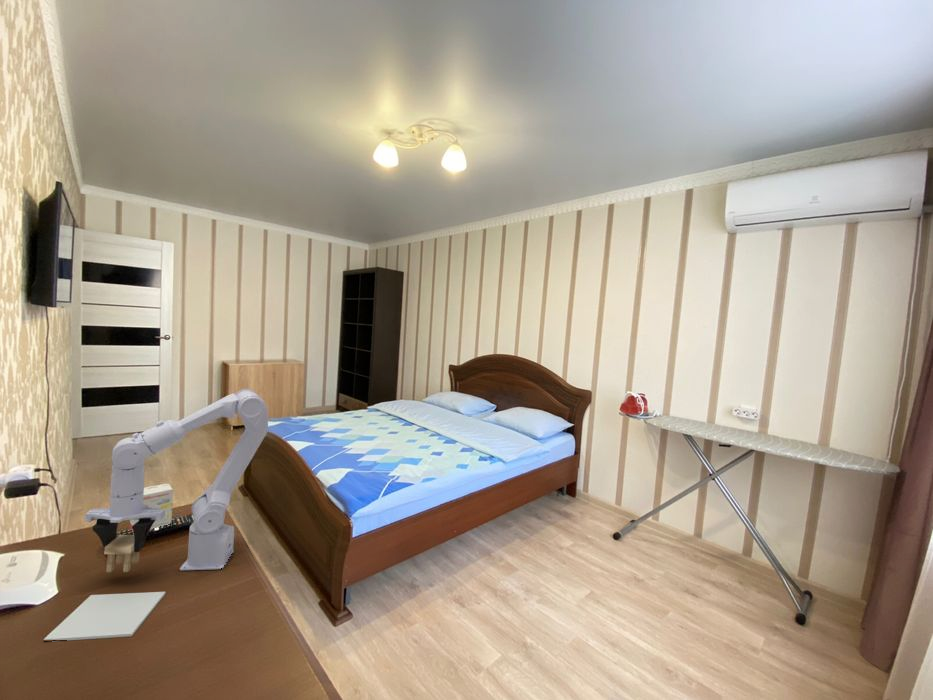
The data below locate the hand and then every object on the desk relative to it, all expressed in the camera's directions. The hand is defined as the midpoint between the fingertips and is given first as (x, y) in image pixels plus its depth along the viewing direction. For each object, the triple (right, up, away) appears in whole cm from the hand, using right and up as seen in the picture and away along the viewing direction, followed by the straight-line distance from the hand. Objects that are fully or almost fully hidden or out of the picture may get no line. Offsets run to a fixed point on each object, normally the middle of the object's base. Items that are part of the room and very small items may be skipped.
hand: (124, 550), depth 89 cm
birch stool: (0, -4, 0) cm, 4 cm away
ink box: (-11, -6, +21) cm, 25 cm away
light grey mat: (+5, -8, -10) cm, 14 cm away
